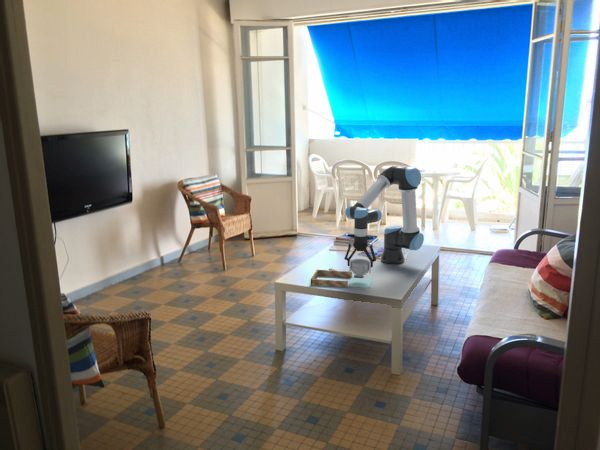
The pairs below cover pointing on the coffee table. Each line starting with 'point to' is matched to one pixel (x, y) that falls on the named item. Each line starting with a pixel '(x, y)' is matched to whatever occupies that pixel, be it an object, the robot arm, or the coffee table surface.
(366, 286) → the mat
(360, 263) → the teacup
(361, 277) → the disc
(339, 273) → the cubby
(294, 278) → the coffee table surface
